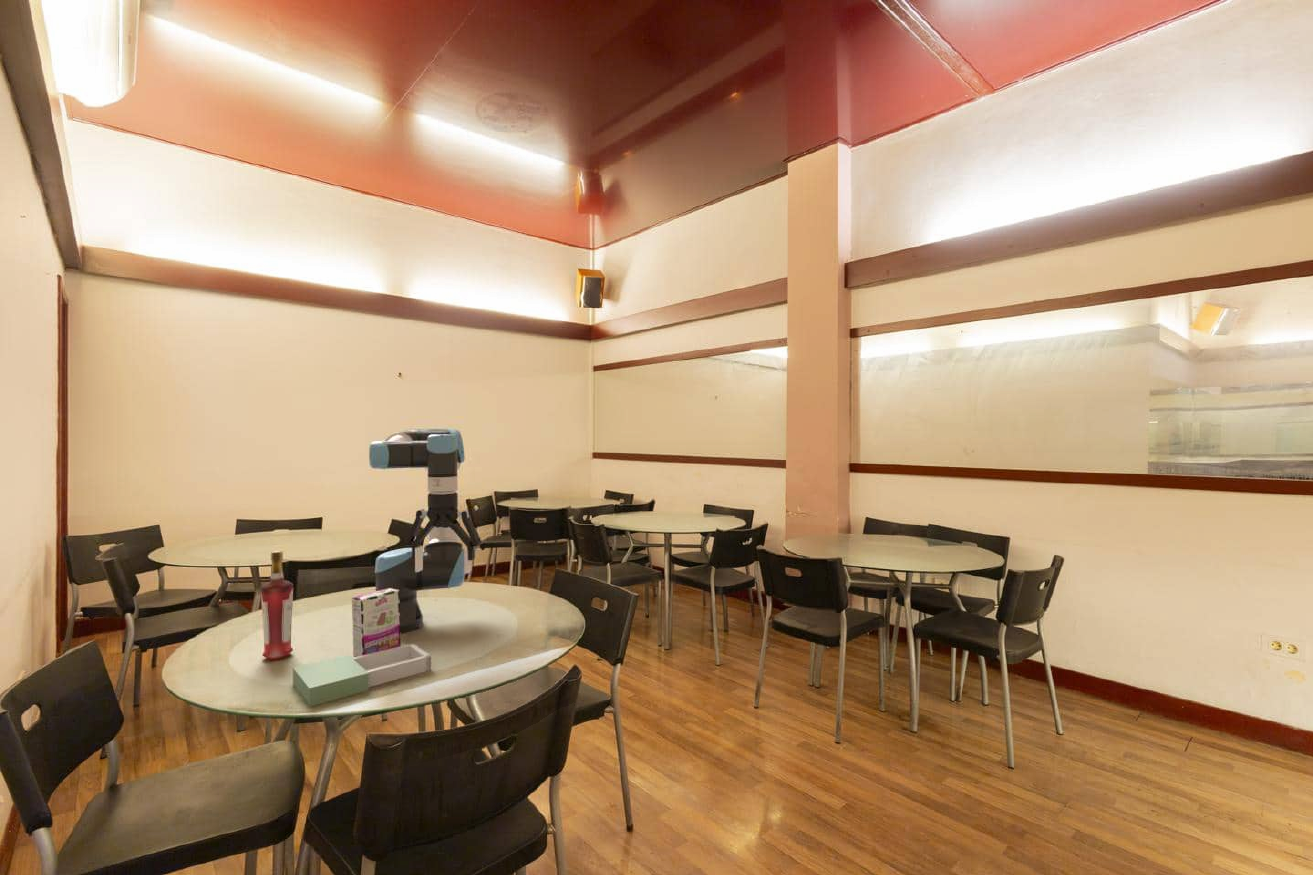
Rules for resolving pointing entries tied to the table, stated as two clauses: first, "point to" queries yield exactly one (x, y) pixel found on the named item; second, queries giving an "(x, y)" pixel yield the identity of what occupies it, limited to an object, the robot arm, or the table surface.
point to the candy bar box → (376, 622)
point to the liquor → (277, 611)
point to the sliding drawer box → (357, 673)
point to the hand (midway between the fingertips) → (443, 571)
